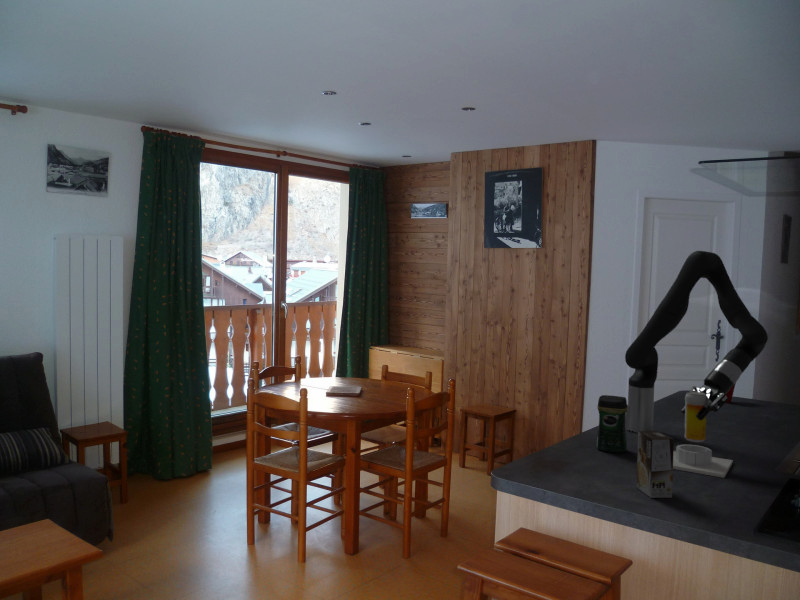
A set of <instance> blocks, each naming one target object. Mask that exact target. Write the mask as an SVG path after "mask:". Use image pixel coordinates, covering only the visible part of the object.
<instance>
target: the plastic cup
mask: <svg viewBox="0 0 800 600" xmlns="http://www.w3.org/2000/svg"><path fill="white" fill-rule="evenodd" d="M736 383H737V382H736ZM736 383H735V384H734V385H733V386H732V388H731V389H730V390H729V391H728V393H727V394H726V396H727V398H728V401H727V402H726V403H725V404H730V403H732V400H733V396H734V391H735V387H736Z"/></svg>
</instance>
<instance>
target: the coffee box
mask: <svg viewBox="0 0 800 600" xmlns="http://www.w3.org/2000/svg"><path fill="white" fill-rule="evenodd" d="M674 444H675V439H674V438H672V437H671V436H669V435H667V434H665V433H663V432H661V431H659V430H653V431H638V433H637V455H636V456H637V457H636V459H637V461H636V488H637V489H638V490H639V491H641V492H642V493H644V494H645V495H646V496H648V497H649V498H651V499H657V498H659V499H661V498H662V499H666V498H667V499H669V498H670V499H671V498H673V484H674V483H673V482H674V481H673V478H674V477H673V476H674V469H673V452H674V451H675V450H674V448H675V447H674V446H675V445H674Z"/></svg>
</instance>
